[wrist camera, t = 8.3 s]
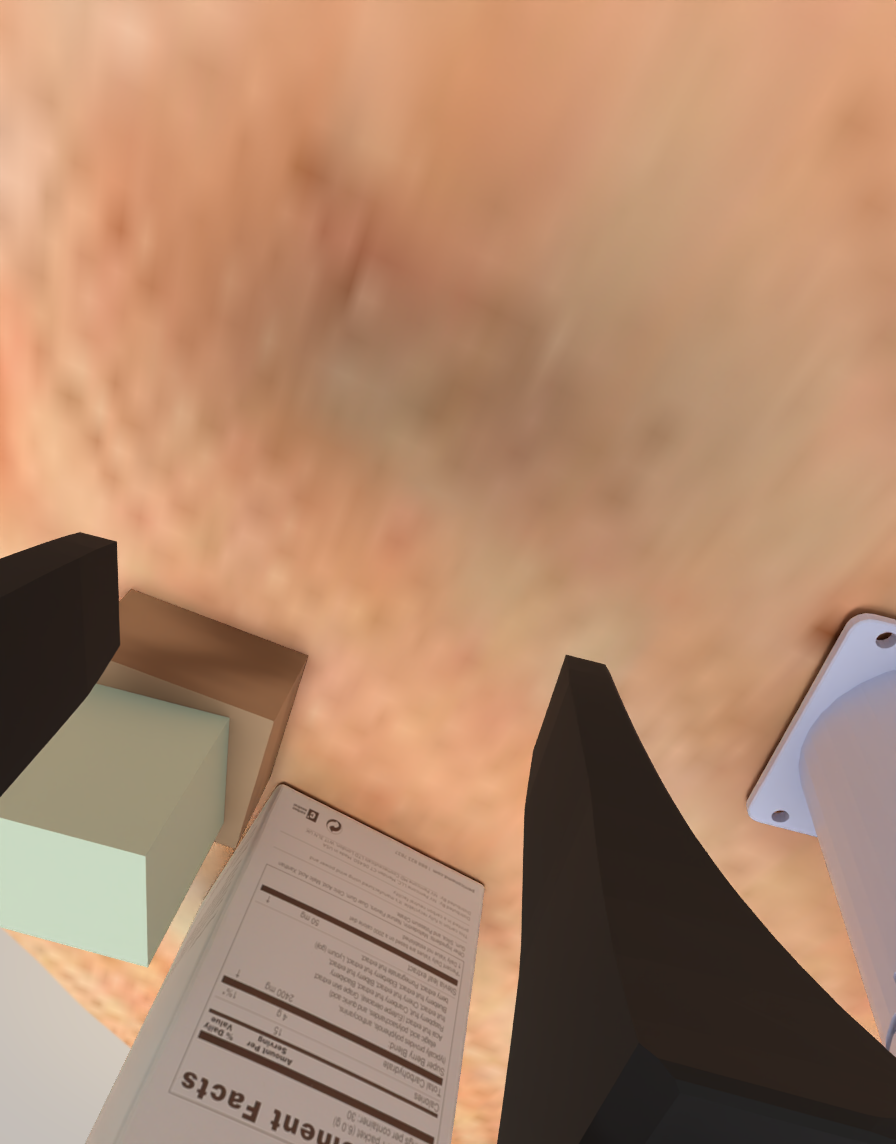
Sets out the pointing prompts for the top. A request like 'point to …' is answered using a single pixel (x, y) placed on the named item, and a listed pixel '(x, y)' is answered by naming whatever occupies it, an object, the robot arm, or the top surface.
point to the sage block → (112, 824)
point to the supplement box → (308, 996)
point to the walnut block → (212, 688)
